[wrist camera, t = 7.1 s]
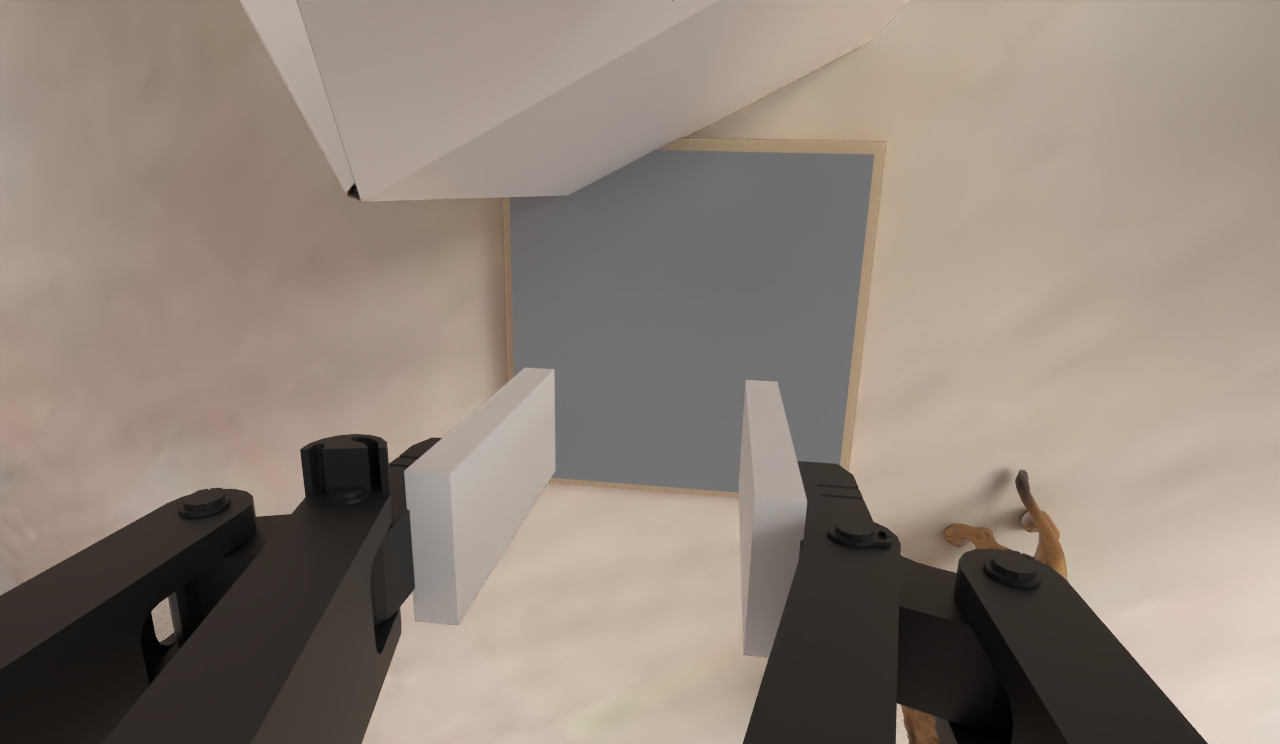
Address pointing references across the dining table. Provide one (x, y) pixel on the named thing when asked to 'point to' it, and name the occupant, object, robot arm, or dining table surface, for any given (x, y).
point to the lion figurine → (1047, 552)
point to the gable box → (534, 82)
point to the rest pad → (696, 305)
